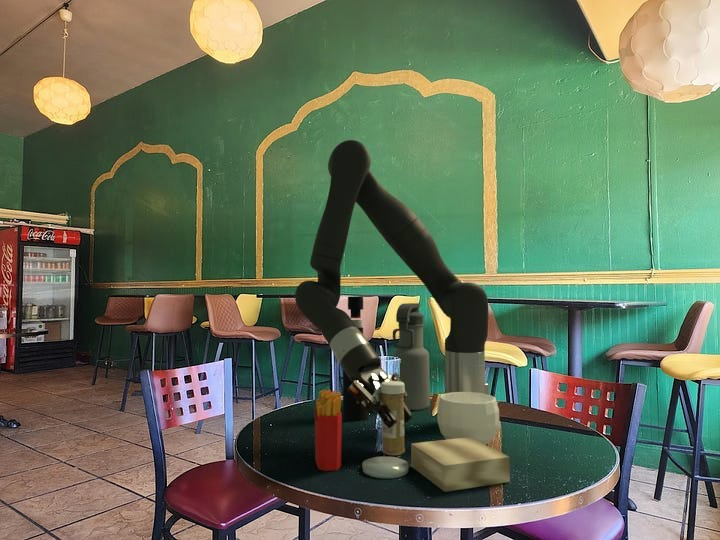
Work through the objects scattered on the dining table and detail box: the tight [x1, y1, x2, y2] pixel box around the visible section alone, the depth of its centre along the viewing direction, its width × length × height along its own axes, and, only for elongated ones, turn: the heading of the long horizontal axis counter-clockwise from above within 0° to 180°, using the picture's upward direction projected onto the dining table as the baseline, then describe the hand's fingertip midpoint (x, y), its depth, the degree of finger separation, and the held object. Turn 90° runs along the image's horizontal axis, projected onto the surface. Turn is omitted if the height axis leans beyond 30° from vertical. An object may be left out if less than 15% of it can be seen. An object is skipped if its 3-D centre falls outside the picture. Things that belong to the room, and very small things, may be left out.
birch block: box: [410, 437, 511, 493], centre depth 84 cm, size 12×12×4 cm
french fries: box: [314, 389, 343, 472], centre depth 89 cm, size 9×4×13 cm, turn 13°
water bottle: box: [392, 302, 431, 411], centre depth 135 cm, size 10×10×28 cm
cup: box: [436, 392, 500, 445], centre depth 100 cm, size 12×12×10 cm
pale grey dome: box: [361, 456, 409, 479], centre depth 86 cm, size 8×8×1 cm
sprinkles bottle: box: [381, 381, 406, 457], centre depth 96 cm, size 5×5×14 cm
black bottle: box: [342, 296, 370, 422], centre depth 123 cm, size 6×6×30 cm
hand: (400, 422), depth 95 cm, fingers closed on sprinkles bottle, 4 cm apart
